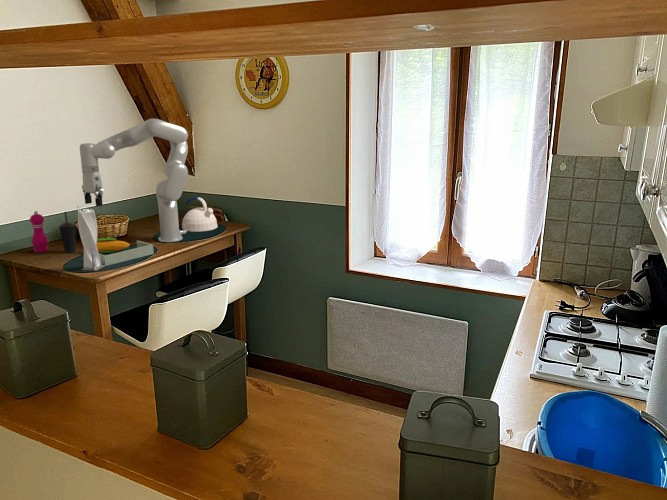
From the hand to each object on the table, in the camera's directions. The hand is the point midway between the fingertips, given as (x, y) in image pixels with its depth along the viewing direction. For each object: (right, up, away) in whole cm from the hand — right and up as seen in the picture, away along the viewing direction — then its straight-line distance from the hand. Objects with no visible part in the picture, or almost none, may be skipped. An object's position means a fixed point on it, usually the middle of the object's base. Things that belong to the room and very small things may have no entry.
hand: (93, 204), depth 273 cm
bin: (+17, -26, -7) cm, 32 cm away
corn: (+7, -24, +2) cm, 25 cm away
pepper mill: (-28, -23, +4) cm, 36 cm away
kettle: (+40, -10, +52) cm, 66 cm away
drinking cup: (-12, -23, +2) cm, 26 cm away
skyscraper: (+9, -30, -23) cm, 39 cm away
